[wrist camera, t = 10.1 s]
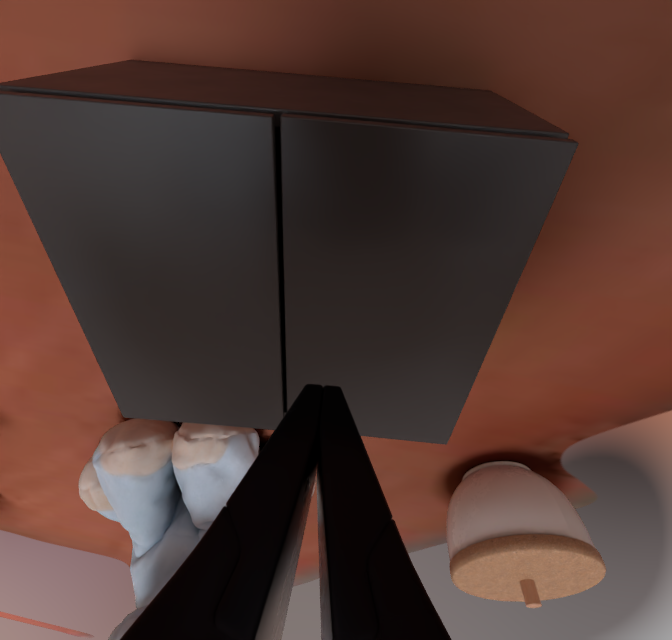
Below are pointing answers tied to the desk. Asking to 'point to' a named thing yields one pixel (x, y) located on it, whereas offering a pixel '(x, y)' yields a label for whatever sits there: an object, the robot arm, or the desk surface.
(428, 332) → the flap
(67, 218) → the carton
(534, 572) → the trinket box
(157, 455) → the hippo plush
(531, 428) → the desk surface
